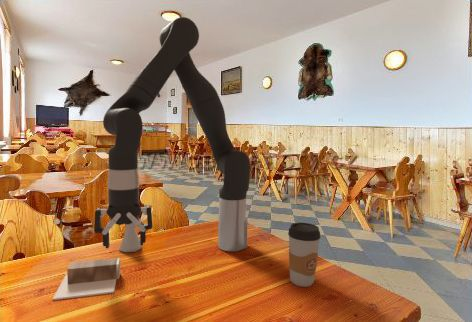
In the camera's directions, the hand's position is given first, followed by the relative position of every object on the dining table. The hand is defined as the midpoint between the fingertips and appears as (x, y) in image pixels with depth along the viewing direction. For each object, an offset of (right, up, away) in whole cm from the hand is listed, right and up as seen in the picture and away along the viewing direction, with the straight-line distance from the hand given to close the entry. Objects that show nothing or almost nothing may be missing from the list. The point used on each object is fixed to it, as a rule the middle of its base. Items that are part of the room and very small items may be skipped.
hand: (124, 245), depth 79 cm
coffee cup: (+47, -10, +1) cm, 48 cm away
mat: (-8, -8, -2) cm, 12 cm away
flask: (-5, -7, +19) cm, 21 cm away
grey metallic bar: (-1, -6, 0) cm, 6 cm away
